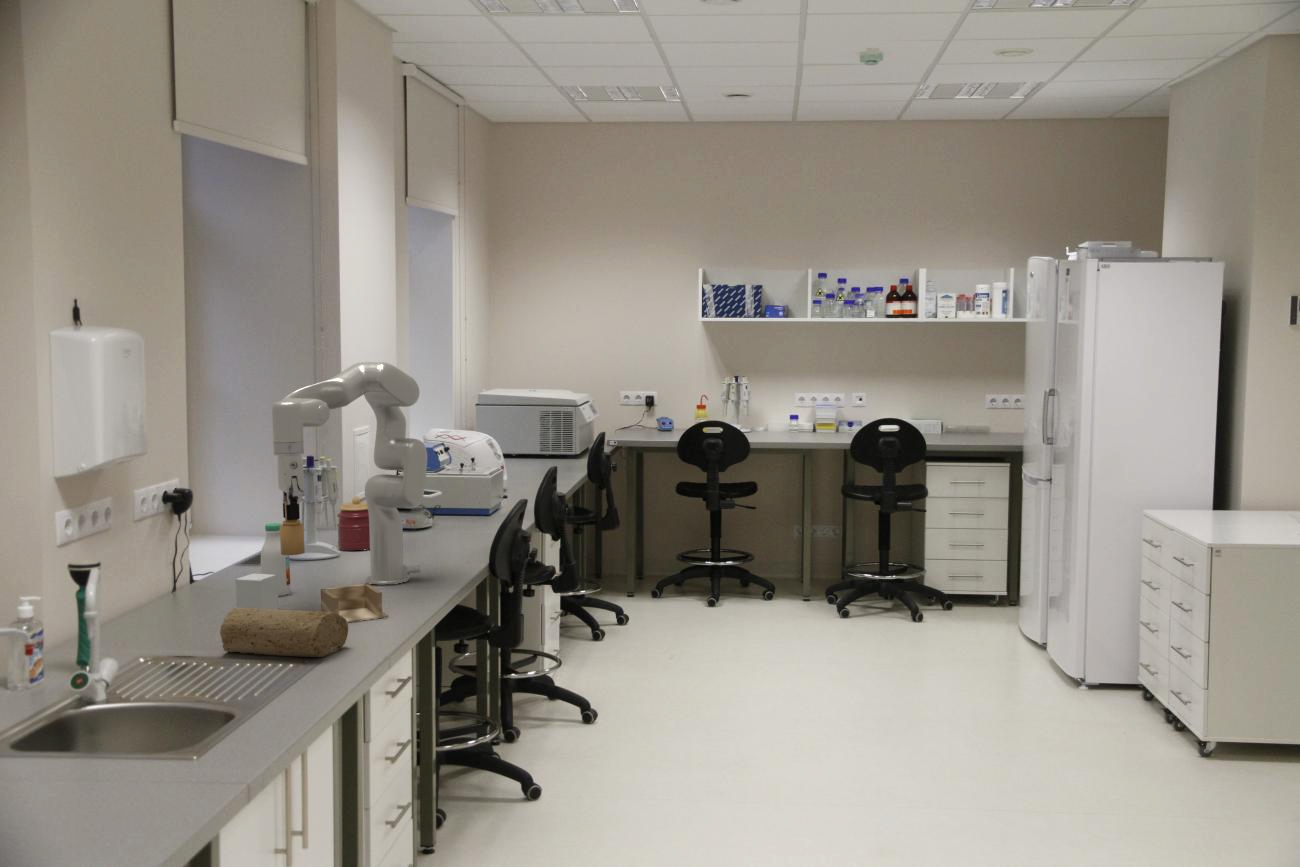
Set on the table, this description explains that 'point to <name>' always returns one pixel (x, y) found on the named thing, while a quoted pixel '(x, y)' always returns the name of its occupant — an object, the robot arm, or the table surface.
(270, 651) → the core sample
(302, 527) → the bottle
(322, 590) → the u rest
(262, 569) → the milk bottle
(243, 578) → the supplement box
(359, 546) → the canister
